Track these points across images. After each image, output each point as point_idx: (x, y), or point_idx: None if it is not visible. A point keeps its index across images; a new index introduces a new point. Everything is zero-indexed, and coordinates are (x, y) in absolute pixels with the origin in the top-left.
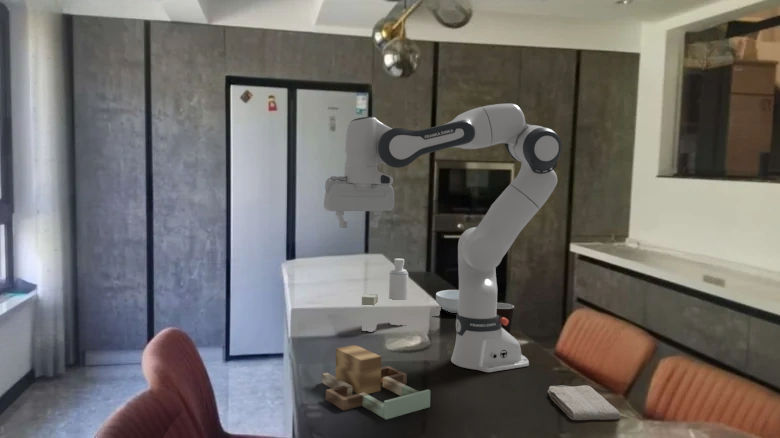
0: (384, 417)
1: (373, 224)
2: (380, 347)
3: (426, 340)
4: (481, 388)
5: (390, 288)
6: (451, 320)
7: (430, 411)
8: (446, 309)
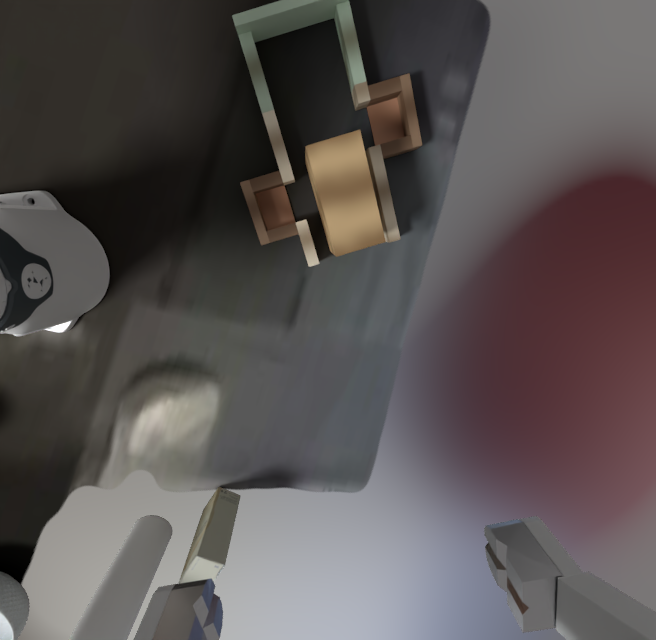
0: None
1: (194, 608)
2: (230, 401)
3: (122, 422)
4: (94, 103)
5: (134, 611)
6: (26, 534)
7: None
8: (17, 582)
